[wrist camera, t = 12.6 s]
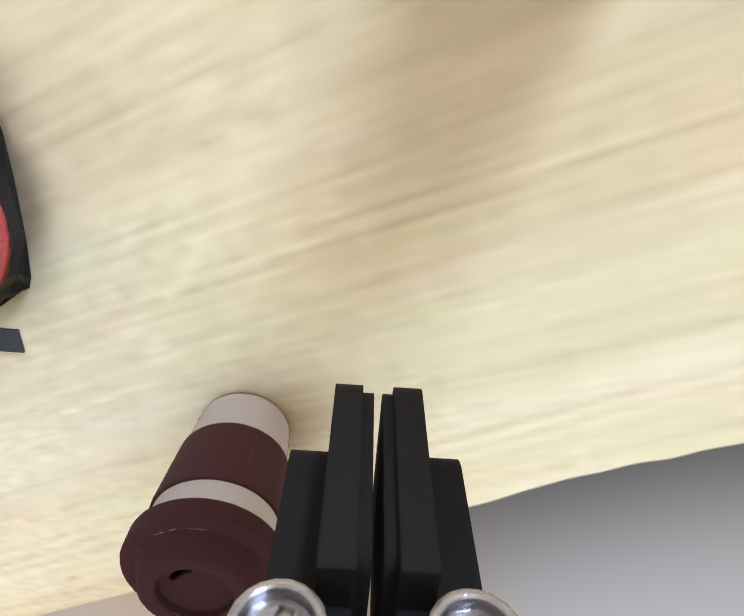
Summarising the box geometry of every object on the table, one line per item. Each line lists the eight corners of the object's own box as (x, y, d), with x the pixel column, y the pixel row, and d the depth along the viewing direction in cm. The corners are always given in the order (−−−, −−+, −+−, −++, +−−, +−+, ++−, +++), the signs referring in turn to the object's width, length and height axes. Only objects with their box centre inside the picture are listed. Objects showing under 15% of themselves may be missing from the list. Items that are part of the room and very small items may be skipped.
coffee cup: (311, 469, 49) (285, 645, 36) (196, 470, 49) (129, 646, 36) (301, 375, 44) (267, 540, 31) (174, 377, 44) (87, 541, 31)
